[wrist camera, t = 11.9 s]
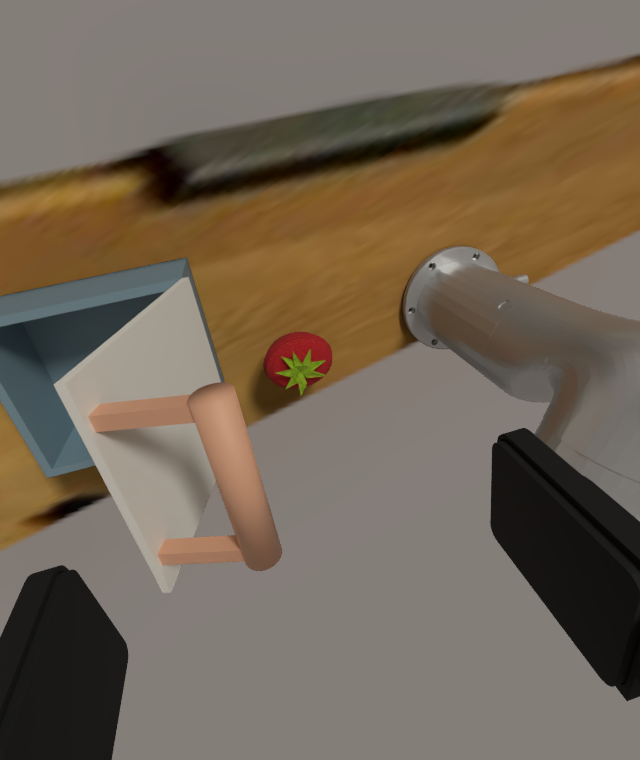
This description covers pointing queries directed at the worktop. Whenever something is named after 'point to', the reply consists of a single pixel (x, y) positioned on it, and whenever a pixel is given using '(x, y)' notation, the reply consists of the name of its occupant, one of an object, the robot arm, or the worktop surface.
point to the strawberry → (298, 360)
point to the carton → (69, 349)
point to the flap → (171, 439)
